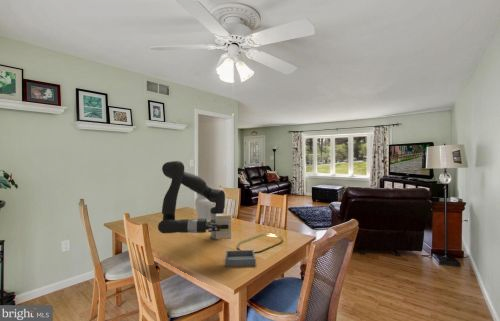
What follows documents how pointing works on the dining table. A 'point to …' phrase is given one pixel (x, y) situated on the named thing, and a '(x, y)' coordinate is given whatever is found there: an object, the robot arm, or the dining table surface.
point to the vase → (203, 207)
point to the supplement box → (223, 220)
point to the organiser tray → (240, 258)
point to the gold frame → (259, 237)
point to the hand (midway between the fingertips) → (228, 225)
